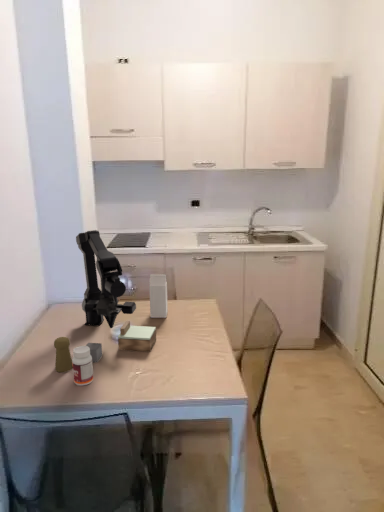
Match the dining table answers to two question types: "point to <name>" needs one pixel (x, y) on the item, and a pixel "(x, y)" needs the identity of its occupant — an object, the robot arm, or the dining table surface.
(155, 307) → the milk carton
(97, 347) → the cube
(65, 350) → the pepper shaker
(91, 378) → the pill bottle
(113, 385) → the dining table surface
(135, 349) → the box
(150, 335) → the lid
